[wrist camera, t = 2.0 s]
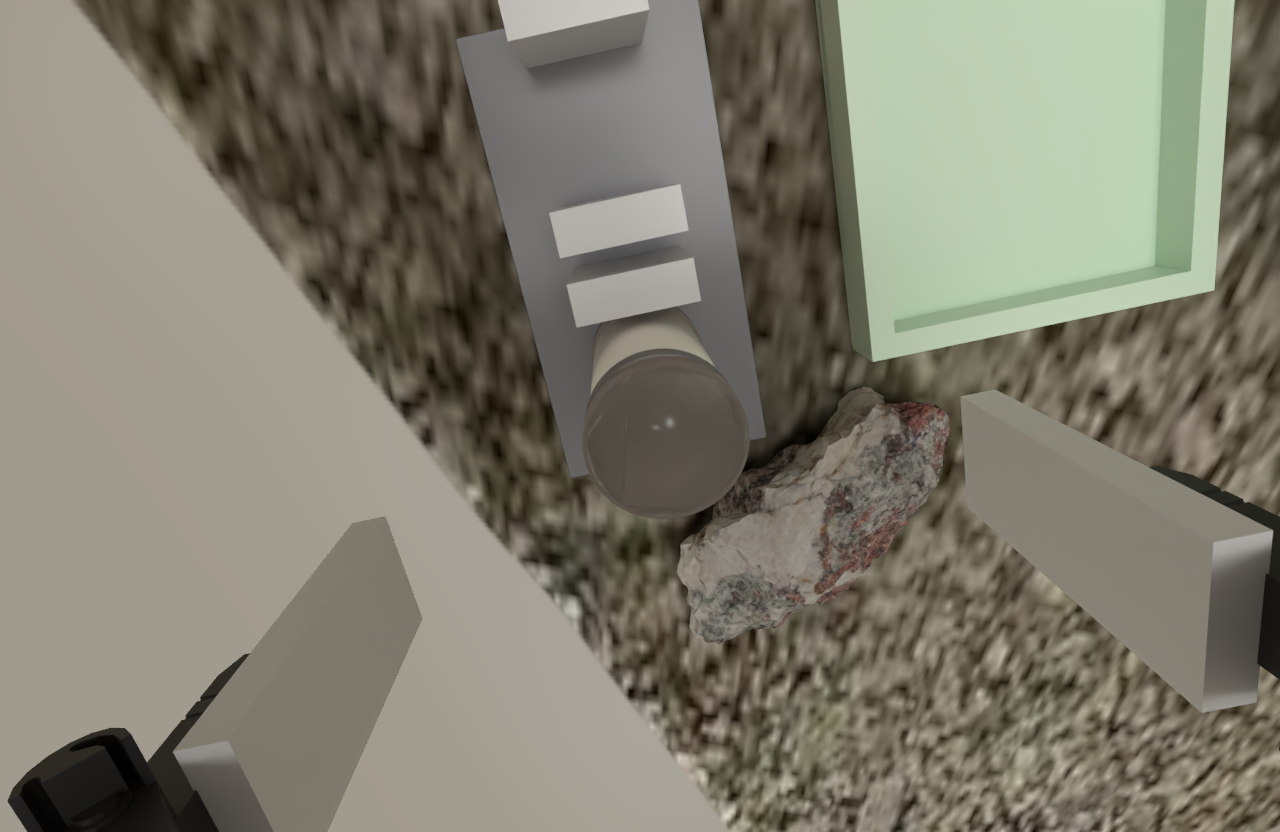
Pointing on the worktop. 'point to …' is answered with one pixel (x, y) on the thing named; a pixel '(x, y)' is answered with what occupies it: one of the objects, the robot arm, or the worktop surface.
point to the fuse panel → (610, 184)
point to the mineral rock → (812, 516)
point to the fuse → (661, 418)
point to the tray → (1021, 160)
